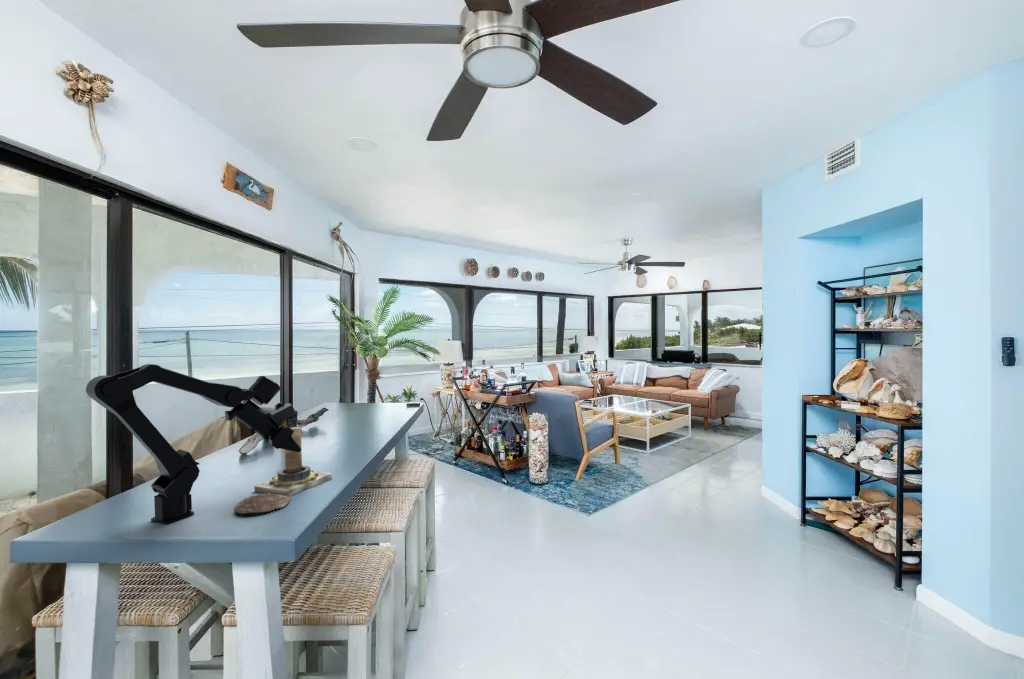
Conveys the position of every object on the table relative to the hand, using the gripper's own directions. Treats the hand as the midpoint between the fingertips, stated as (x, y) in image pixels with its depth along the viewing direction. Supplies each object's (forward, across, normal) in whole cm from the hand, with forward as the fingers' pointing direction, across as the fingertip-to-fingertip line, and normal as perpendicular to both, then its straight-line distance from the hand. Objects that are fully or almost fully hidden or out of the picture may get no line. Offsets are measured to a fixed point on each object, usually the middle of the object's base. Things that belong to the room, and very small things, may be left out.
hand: (298, 449), depth 132 cm
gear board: (+6, 0, +8) cm, 10 cm away
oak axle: (+4, 0, +6) cm, 7 cm away
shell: (-1, -13, +16) cm, 21 cm away
